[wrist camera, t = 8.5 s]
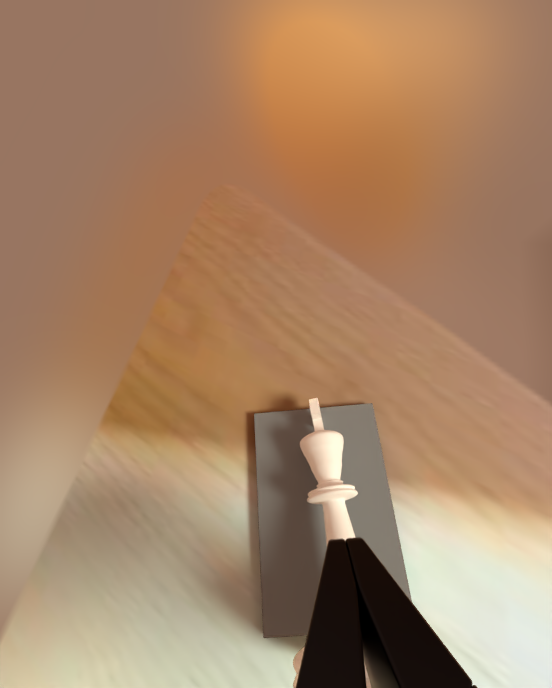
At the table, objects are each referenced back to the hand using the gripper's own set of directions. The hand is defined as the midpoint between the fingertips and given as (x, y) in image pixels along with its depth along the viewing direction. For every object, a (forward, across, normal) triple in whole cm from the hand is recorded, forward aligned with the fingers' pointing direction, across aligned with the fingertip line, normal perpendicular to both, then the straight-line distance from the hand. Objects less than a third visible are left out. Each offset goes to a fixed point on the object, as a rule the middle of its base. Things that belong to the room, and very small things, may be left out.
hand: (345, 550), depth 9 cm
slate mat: (+6, 0, +5) cm, 8 cm away
